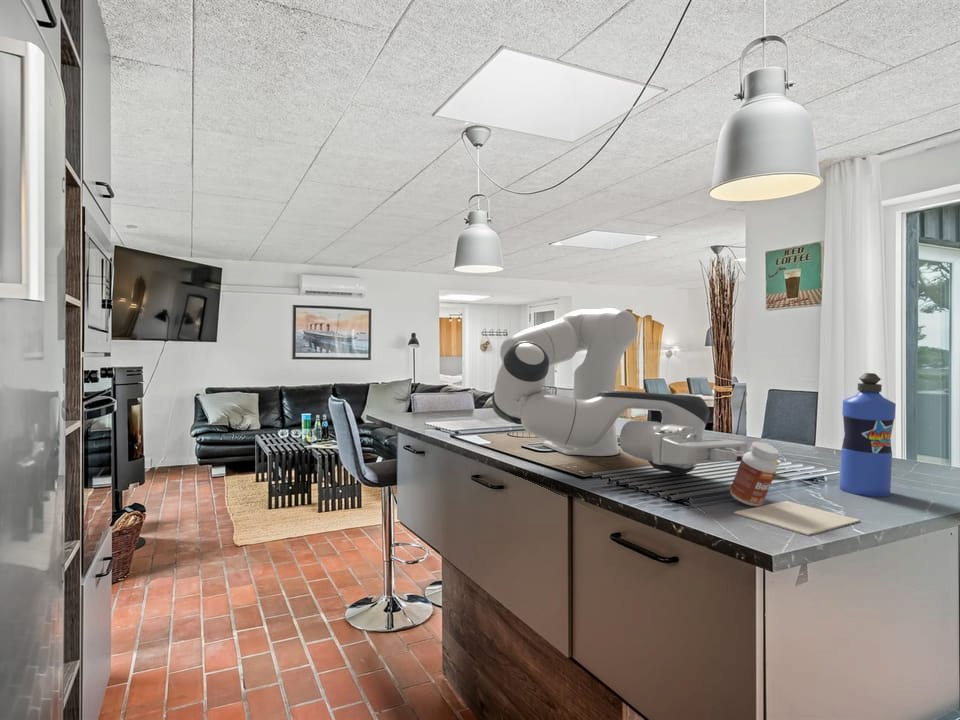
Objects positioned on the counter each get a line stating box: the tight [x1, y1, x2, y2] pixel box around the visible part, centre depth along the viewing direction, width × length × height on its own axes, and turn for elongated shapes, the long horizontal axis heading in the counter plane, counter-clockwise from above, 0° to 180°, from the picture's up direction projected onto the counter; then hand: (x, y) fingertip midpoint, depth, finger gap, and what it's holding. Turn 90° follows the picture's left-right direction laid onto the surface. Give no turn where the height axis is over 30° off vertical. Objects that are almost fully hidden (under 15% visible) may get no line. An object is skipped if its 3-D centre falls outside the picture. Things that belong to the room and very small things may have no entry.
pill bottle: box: [729, 441, 780, 507], centre depth 113 cm, size 6×6×11 cm
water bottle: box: [839, 372, 897, 498], centre depth 126 cm, size 9×9×25 cm
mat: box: [733, 500, 861, 536], centre depth 107 cm, size 14×16×1 cm
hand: (740, 457), depth 115 cm, fingers closed
